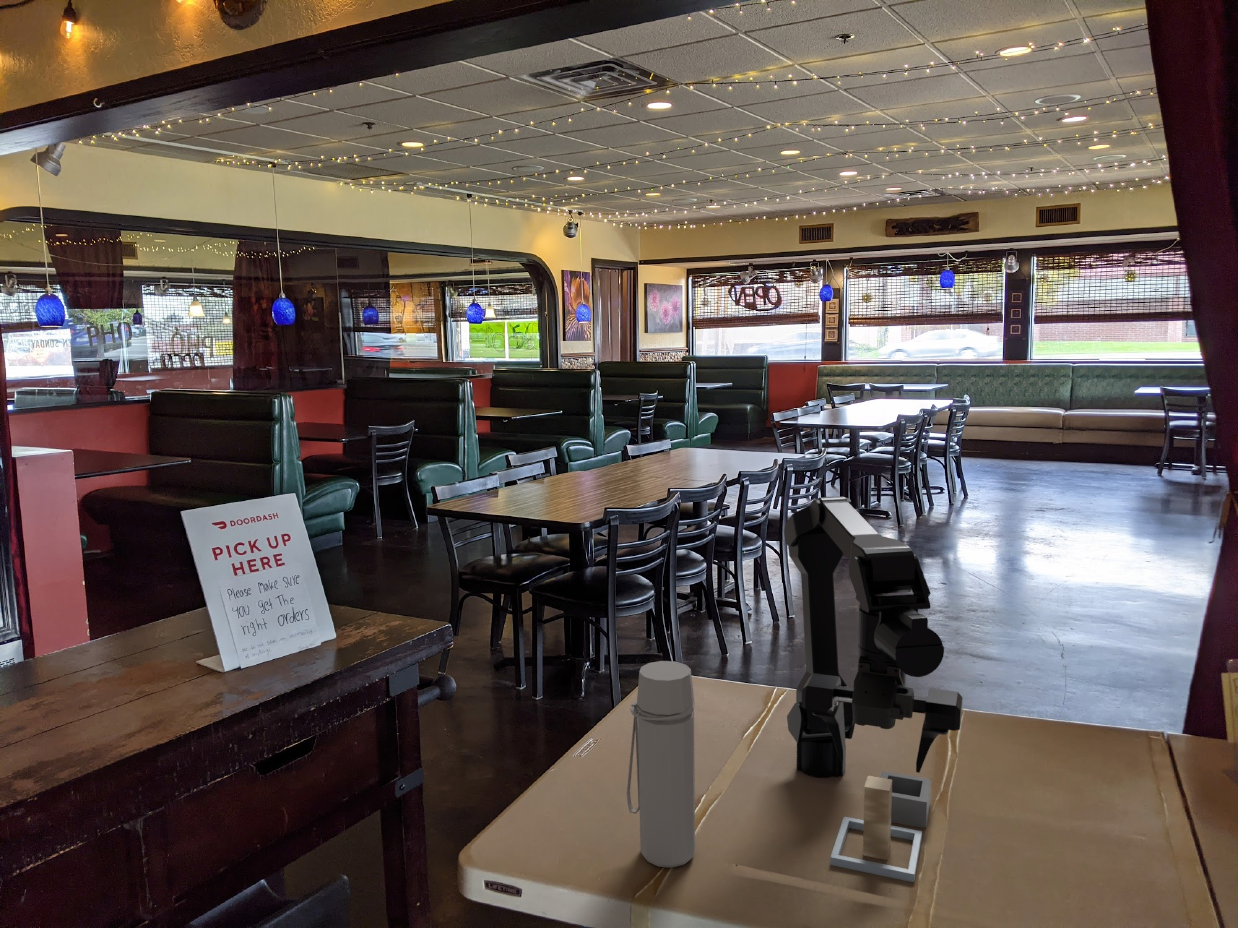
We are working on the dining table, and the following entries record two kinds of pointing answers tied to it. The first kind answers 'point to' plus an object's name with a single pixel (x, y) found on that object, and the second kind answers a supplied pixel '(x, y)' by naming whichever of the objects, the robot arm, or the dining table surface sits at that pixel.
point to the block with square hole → (909, 799)
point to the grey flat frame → (872, 866)
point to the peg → (877, 817)
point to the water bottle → (664, 763)
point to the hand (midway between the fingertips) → (879, 764)
